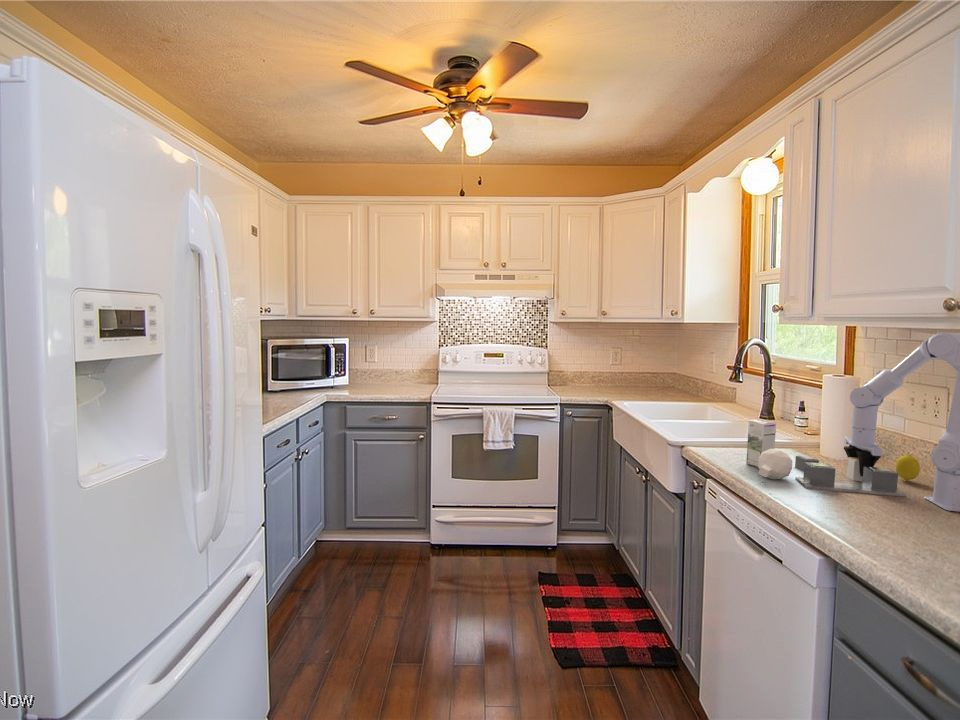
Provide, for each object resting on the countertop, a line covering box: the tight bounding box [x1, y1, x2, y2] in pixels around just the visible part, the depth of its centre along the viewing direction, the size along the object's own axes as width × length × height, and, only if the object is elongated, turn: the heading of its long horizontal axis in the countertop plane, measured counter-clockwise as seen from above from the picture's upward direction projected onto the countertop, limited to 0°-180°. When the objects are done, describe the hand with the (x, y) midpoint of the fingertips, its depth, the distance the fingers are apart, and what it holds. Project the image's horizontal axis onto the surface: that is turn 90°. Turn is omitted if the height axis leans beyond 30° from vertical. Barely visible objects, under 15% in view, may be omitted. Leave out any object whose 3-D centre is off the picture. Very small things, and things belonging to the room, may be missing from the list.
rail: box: [794, 462, 907, 498], centre depth 146 cm, size 8×24×6 cm, turn 77°
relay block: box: [794, 455, 820, 473], centre depth 163 cm, size 5×4×4 cm
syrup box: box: [746, 418, 777, 468], centre depth 166 cm, size 6×6×14 cm
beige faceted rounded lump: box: [757, 448, 793, 480], centre depth 152 cm, size 9×9×12 cm
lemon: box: [895, 454, 921, 482], centre depth 153 cm, size 6×6×8 cm
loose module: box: [846, 456, 863, 482], centre depth 154 cm, size 4×5×6 cm
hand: (859, 473), depth 154 cm, fingers closed on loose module, 4 cm apart
